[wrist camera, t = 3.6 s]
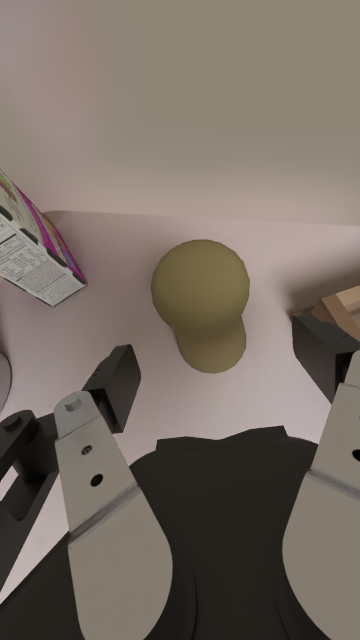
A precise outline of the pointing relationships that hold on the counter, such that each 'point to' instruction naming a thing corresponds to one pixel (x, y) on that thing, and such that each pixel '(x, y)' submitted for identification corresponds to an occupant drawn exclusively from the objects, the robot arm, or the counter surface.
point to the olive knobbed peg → (203, 302)
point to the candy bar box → (34, 250)
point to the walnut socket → (339, 311)
